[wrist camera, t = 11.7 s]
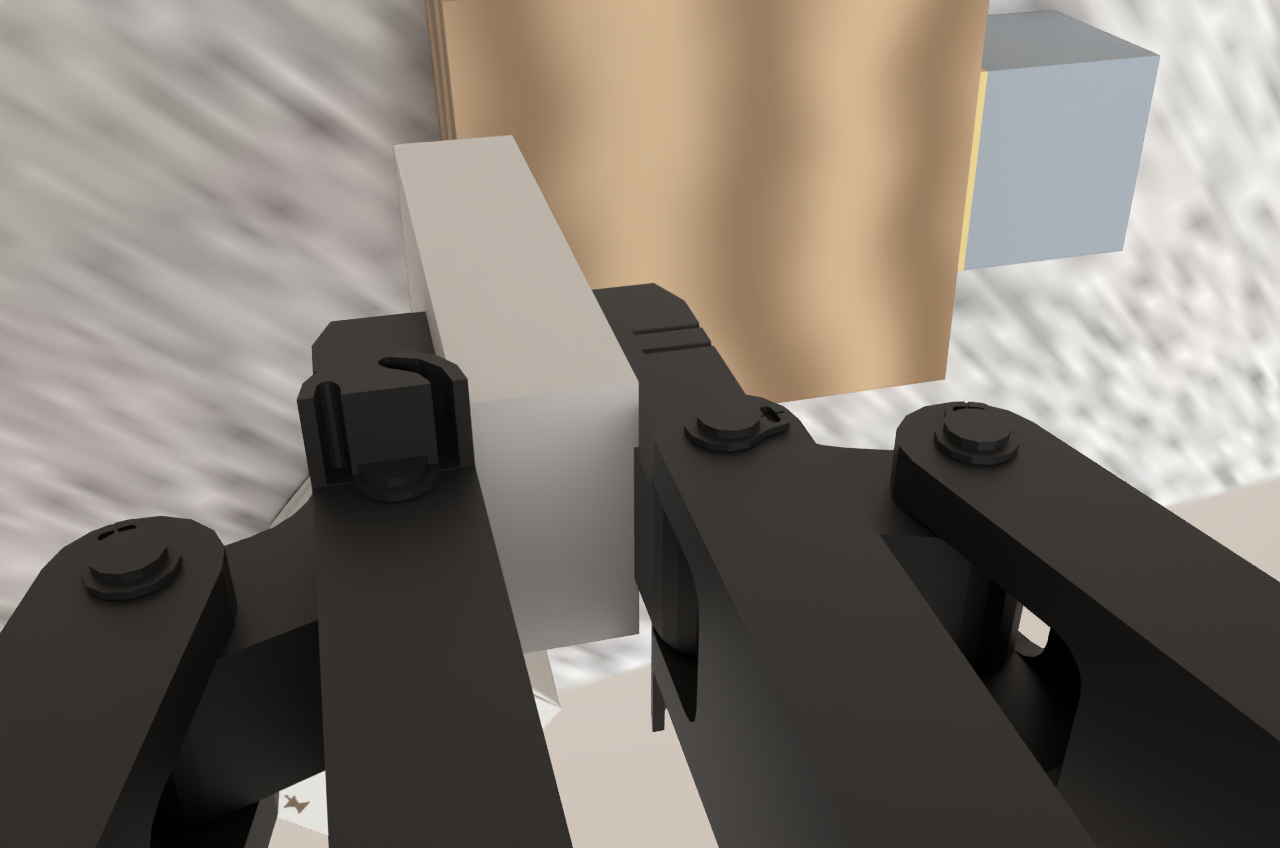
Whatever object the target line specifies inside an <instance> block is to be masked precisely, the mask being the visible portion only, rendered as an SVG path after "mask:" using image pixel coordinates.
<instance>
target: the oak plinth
mask: <svg viewBox="0 0 1280 848" xmlns="http://www.w3.org/2000/svg"><path fill="white" fill-rule="evenodd" d="M425 3H426V11H427V20H428V29H429V37H430V46H431V55H432V63H433V72H434V81H435V89H436V98H437V106H438V115H439V124H440V132H441V141H444V140H457V139H469V138H482V137H494V136H506V135H512V136H513V138H514V139H515V141H516V143H517V145H518V147H519V149H520V151H521V153H522V155H523V157H524V159H525V161H526V163H527V165H528V167H529V169H530V171H531V173H532V175H533V177H534V179H535V181H536V182H537V184H538V186H539V188H540V190H541V192H542V194H543V196H544V198H545V200H546V202H547V204H548V206H549V208H550V210H551V212H552V214H553V216H554V218H555V220H556V222H557V224H558V225H559V227H560V229H561V231H562V233H563V235H564V237H565V239H566V241H567V243H568V245H569V247H570V249H571V251H572V253H573V255H574V257H575V259H576V261H577V263H578V265H579V266H580V268H581V270H582V272H583V274H584V276H585V278H586V280H587V282H588V284H589V286H590V288H591V290H593V289H602V288H611V287H621V286H630V285H639V284H648V283H655V284H657V285H658V286H660V287H662V288H664V289H665V290H667V291H669V292H671V293H672V294H674V295H676V296H678V297H679V298H681V299H683V300H685V302H686V303H687V305H688V306H689V308H690V309H691V311H692V313H693V314H694V316H695V317H696V319H697V320H698V322H699V326H700V328H701V327H702V328H703V329H704V331H705V332H706V334H707V336H708V337H709V339H710V340H711V345H712V346H715V348H716V349H717V351H718V352H719V354H720V355H721V357H722V359H723V360H724V362H725V363H726V365H727V366H728V368H729V369H730V371H731V372H732V374H733V375H734V377H735V378H736V380H737V381H738V383H739V385H740V386H741V388H742V389H743V391H744V392H745V394H746V395H752V396H758V397H762V398H765V399H767V400H770V401H772V402H774V403H781V402H788V401H795V400H802V399H809V398H817V397H824V396H831V395H838V394H845V393H852V392H859V391H866V390H873V389H880V388H887V387H894V386H901V385H908V384H915V383H922V382H929V381H936V380H943V379H945V374H946V365H947V356H948V348H949V339H950V331H951V322H952V314H953V305H954V296H955V288H956V279H957V271H958V262H959V254H960V245H961V236H962V228H963V219H964V211H965V202H966V194H967V185H968V176H969V168H970V159H971V151H972V142H973V134H974V125H975V116H976V108H977V99H978V91H979V82H980V74H981V65H982V56H983V48H984V39H985V31H986V22H987V13H988V5H989V0H425Z"/></svg>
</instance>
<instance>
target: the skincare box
mask: <svg viewBox="0 0 1280 848" xmlns="http://www.w3.org/2000/svg"><path fill="white" fill-rule="evenodd" d="M311 495H312V486H311V480H310V476H309V477H308V479H307V480H306V481H305V482H304V484H303V485H302V486H301V487H300V489H299V490H298V491H297V492H296V493H295V495H294V496H293V497H292V498H291V500H290V501H289V502H288V503H287V505H286V506H285V507H284V509H283V510H282V511H281V512H280V514H279V515H278V516H277V518H276V519H275V520H274V522H273V523H272V524H271V526H270V527H269V529H270V528H273V527H275V526H276V525H278V524H279V523H281V522H283V521H284V520H286V519H287V518H289V517H291V516H292V515H293V514H295V513H296V512H297V511H298V510H299V509H300V508H301V507H302V506H303V505H304V504H305V503H306V502H307V501H308V500H309V498H310V496H311ZM523 655H524V659H525V663H526V666H527V670H528V674H529V678H530V682H531V686H532V690H533V694H534V698H535V702H536V706H537V709H538V713H539V717H540V721H541V725H542V729H544V728H545V727H546V726H547V725H548V723H549V722H550V721H551V720H552V719H553V718H554V717H555V716H556V715H557V714H558V713H559V711H560V710H561V706H560V704H559V701H558V696H557V692H556V688H555V683H554V679H553V675H552V671H551V667H550V663H549V659H548V655H547V651H546V650H541V651H535V652H530V653H524V654H523ZM277 817H279V818H281V819H284V820H287V821H290V822H292V823H295V824H298V825H300V826H303V827H306V828H308V829H311V830H314V831H316V832H319V833H322V834H325V835H327V836H328V820H327V799H326V778H325V771H323V772H321V773H319V774H317V775H315V776H312V777H310V778H308V779H306V780H303V781H301V782H299V783H297V784H295V785H292V786H290V787H288V788H286V789H284V790H281V791H279V806H278V815H277Z"/></svg>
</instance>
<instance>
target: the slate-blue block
mask: <svg viewBox="0 0 1280 848" xmlns="http://www.w3.org/2000/svg"><path fill="white" fill-rule="evenodd" d="M1159 59H1160V55H1158V54H1156V53H1153V52H1151V51H1149V50H1146V49H1144V48H1142V47H1139V46H1137V45H1135V44H1132V43H1130V42H1128V41H1125V40H1123V39H1121V38H1118V37H1116V36H1114V35H1111V34H1109V33H1107V32H1104V31H1102V30H1100V29H1097V28H1095V27H1093V26H1090V25H1088V24H1086V23H1083V22H1081V21H1079V20H1076V19H1074V18H1072V17H1069V16H1067V15H1065V14H1062V13H1060V12H1058V11H1055V10H1047V11H1035V12H1023V13H1011V14H999V15H987V22H986V31H985V39H984V48H983V56H982V65H981V74H980V82H979V91H978V99H977V108H976V116H975V125H974V134H973V142H972V151H971V159H970V168H969V176H968V185H967V194H966V202H965V211H964V219H963V228H962V236H961V245H960V254H959V262H958V271H962V270H970V269H978V268H986V267H994V266H1002V265H1011V264H1019V263H1027V262H1035V261H1043V260H1051V259H1059V258H1067V257H1076V256H1084V255H1092V254H1100V253H1108V252H1116V251H1122V250H1123V245H1124V240H1125V235H1126V230H1127V224H1128V219H1129V214H1130V209H1131V204H1132V199H1133V194H1134V188H1135V183H1136V178H1137V173H1138V168H1139V163H1140V157H1141V152H1142V147H1143V142H1144V137H1145V132H1146V126H1147V121H1148V116H1149V111H1150V106H1151V101H1152V95H1153V90H1154V85H1155V80H1156V75H1157V70H1158V65H1159Z"/></svg>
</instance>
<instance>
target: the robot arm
mask: <svg viewBox="0 0 1280 848" xmlns="http://www.w3.org/2000/svg"><path fill="white" fill-rule="evenodd" d="M393 149H394V158H395V167H396V176H397V185H398V194H399V203H400V212H401V222H402V231H403V240H404V249H405V258H406V267H407V276H408V285H409V294H410V303H411V312H412V313H405V314H396V315H387V316H378V317H368V318H359V319H350V320H341V321H332V322H330V323H329V324H328V326H327V327H326V328H325V330H324V331H323V332H322V334H321V335H320V336H319V337H318V339H317V340H316V341H315V343H314V344H313V345H312V363H313V375H312V376H311V377H310V378H309V379H308V380H306V381H305V382H304V383H303V384H302V387H301V390H300V392H299V395H298V398H297V405H298V410H299V416H300V422H301V428H302V434H303V439H304V445H305V451H306V457H307V463H308V469H309V474H310V480H311V486H312V495H311V496H310V498H309V500H308V501H307V502H306V503H305V504H304V505H303V506H302V507H301V508H300V509H299V510H298V511H297V512H296V513H295V514H293V515H292V516H291V517H289V518H287V519H286V520H284V521H283V522H281V523H279V524H278V525H276V526H275V527H273V528H270V529H268V530H266V531H263V532H261V533H259V534H256V535H254V536H252V537H249V538H246V539H243V540H240V541H238V542H235V543H232V544H229V545H226V546H224V545H223V544H222V542H221V541H220V539H219V538H218V536H217V534H216V533H215V531H214V530H212V529H210V528H208V527H206V526H204V525H202V524H200V523H198V522H196V521H194V520H191V519H183V518H174V517H166V516H157V517H148V518H139V519H130V520H125V521H121V522H117V523H115V524H113V525H111V524H110V525H108V526H105V527H102V528H100V529H97V530H94V531H91V532H90V533H88V534H86V535H84V536H83V537H81V538H79V539H78V540H76V541H74V542H72V543H71V544H69V545H67V546H65V547H64V548H62V549H61V550H60V551H59V552H58V553H57V554H56V555H55V556H54V557H53V558H52V559H51V560H50V562H49V563H48V564H47V565H46V566H45V567H44V568H43V569H42V570H41V571H40V573H39V575H38V576H37V578H36V579H35V581H34V582H33V584H32V585H31V587H30V588H29V590H28V591H27V593H26V594H25V596H24V598H23V599H22V601H21V602H20V604H19V605H18V607H17V608H16V610H15V611H14V613H13V614H12V616H11V617H10V619H9V621H8V622H7V624H6V625H5V627H4V628H3V630H2V631H1V633H0V848H268V845H269V842H270V838H271V835H272V831H273V828H274V825H275V822H276V819H277V815H278V806H279V791H281V790H284V789H286V788H288V787H290V786H292V785H295V784H297V783H299V782H301V781H303V780H306V779H308V778H310V777H312V776H315V775H317V774H319V773H321V772H323V771H325V778H326V799H327V820H328V840H329V848H573V847H572V843H571V839H570V835H569V831H568V827H567V823H566V819H565V815H564V811H563V808H562V803H561V800H560V796H559V792H558V788H557V784H556V780H555V776H554V772H553V769H552V765H551V761H550V756H549V753H548V749H547V745H546V741H545V737H544V733H543V729H542V725H541V721H540V717H539V713H538V709H537V706H536V702H535V698H534V694H533V690H532V686H531V682H530V678H529V674H528V670H527V666H526V663H525V659H524V655H523V654H524V653H530V652H535V651H541V650H547V649H553V648H559V647H565V646H571V645H577V644H582V643H588V642H594V641H600V640H606V639H612V638H618V637H623V636H629V635H635V634H639V591H640V594H641V596H642V599H643V601H644V604H645V606H646V609H647V611H648V614H649V616H650V619H651V621H652V656H651V717H652V729H653V732H656V731H662V730H664V715H665V709H666V708H667V710H668V712H669V715H670V718H671V720H672V723H673V725H674V728H675V731H676V734H677V736H678V739H679V742H680V744H681V747H682V750H683V752H684V755H685V758H686V760H687V763H688V766H689V768H690V771H691V774H692V777H693V779H694V782H695V785H696V787H697V789H698V793H699V795H700V798H701V801H702V803H703V806H704V808H705V811H706V814H707V817H708V819H709V822H710V825H711V827H712V830H713V833H714V835H715V838H716V841H717V844H718V846H719V848H1280V582H1279V581H1277V580H1276V579H1274V578H1273V577H1271V576H1269V575H1268V574H1266V573H1265V572H1263V571H1262V570H1260V569H1259V568H1257V567H1256V566H1254V565H1252V564H1251V563H1249V562H1248V561H1246V560H1245V559H1243V558H1242V557H1240V556H1239V555H1237V554H1236V553H1234V552H1232V551H1231V550H1229V549H1228V548H1226V547H1225V546H1223V545H1222V544H1220V543H1219V542H1217V541H1216V540H1214V539H1212V538H1211V537H1209V536H1208V535H1206V534H1205V533H1203V532H1202V531H1200V530H1199V529H1197V528H1195V527H1194V526H1192V525H1191V524H1189V523H1188V522H1186V521H1185V520H1183V519H1181V518H1180V517H1178V516H1177V515H1175V514H1174V513H1172V512H1171V511H1169V510H1168V509H1166V508H1165V507H1163V506H1162V505H1160V504H1159V503H1157V502H1155V501H1154V500H1152V499H1151V498H1149V497H1148V496H1146V495H1145V494H1143V493H1142V492H1140V491H1138V490H1137V489H1135V488H1134V487H1132V486H1131V485H1129V484H1128V483H1126V482H1125V481H1123V480H1122V479H1120V478H1118V477H1117V476H1115V475H1114V474H1112V473H1111V472H1109V471H1108V470H1106V469H1105V468H1103V467H1101V466H1100V465H1098V464H1097V463H1095V462H1094V461H1092V460H1091V459H1089V458H1088V457H1086V456H1085V455H1083V454H1081V453H1080V452H1078V451H1077V450H1075V449H1074V448H1072V447H1071V446H1069V445H1068V444H1066V443H1065V442H1063V441H1061V440H1060V439H1058V438H1057V437H1055V436H1054V435H1052V434H1051V433H1049V432H1048V431H1046V430H1044V429H1043V428H1041V427H1040V426H1038V425H1037V424H1035V423H1034V422H1032V421H1030V420H1027V419H1025V418H1023V417H1021V416H1019V415H1017V414H1015V413H1013V412H1011V411H1008V410H1004V409H1000V408H996V407H992V406H988V405H986V404H984V403H977V402H968V403H965V402H949V403H943V404H937V405H931V406H925V407H923V408H921V409H919V410H917V411H915V412H913V413H911V414H909V415H907V416H906V417H905V418H904V419H903V421H902V422H901V424H900V425H899V427H898V428H897V431H896V438H895V446H894V450H877V449H858V448H842V447H834V446H825V445H820V444H816V443H815V441H814V440H813V438H812V437H811V436H810V434H809V433H808V431H807V430H806V428H805V427H804V426H803V424H802V423H801V421H800V420H799V419H798V418H797V417H796V416H794V415H793V414H792V413H791V412H790V411H789V410H788V409H787V408H785V407H784V406H781V405H779V404H777V403H774V402H772V401H770V400H767V399H765V398H762V397H758V396H752V395H746V394H745V392H744V391H743V389H742V388H741V386H740V385H739V383H738V381H737V380H736V378H735V377H734V375H733V374H732V372H731V371H730V369H729V368H728V366H727V365H726V363H725V362H724V360H723V359H722V357H721V355H720V354H719V352H718V351H717V349H716V348H715V346H712V345H711V340H710V339H709V337H708V336H707V334H706V332H705V331H704V329H703V328H702V327H701V328H700V326H699V322H698V320H697V319H696V317H695V316H694V314H693V313H692V311H691V309H690V308H689V306H688V305H687V303H686V302H685V300H683V299H681V298H679V297H678V296H676V295H674V294H672V293H671V292H669V291H667V290H665V289H664V288H662V287H660V286H658V285H657V284H655V283H648V284H639V285H630V286H621V287H611V288H602V289H593V290H591V288H590V286H589V284H588V282H587V280H586V278H585V276H584V274H583V272H582V270H581V268H580V266H579V265H578V263H577V261H576V259H575V257H574V255H573V253H572V251H571V249H570V247H569V245H568V243H567V241H566V239H565V237H564V235H563V233H562V231H561V229H560V227H559V225H558V224H557V222H556V220H555V218H554V216H553V214H552V212H551V210H550V208H549V206H548V204H547V202H546V200H545V198H544V196H543V194H542V192H541V190H540V188H539V186H538V184H537V182H536V181H535V179H534V177H533V175H532V173H531V171H530V169H529V167H528V165H527V163H526V161H525V159H524V157H523V155H522V153H521V151H520V149H519V147H518V145H517V143H516V141H515V139H514V138H513V136H512V135H506V136H494V137H482V138H469V139H457V140H444V141H432V142H420V143H407V144H395V145H393ZM1023 606H1025V607H1026V608H1027V609H1028V610H1030V611H1031V612H1032V613H1033V614H1035V615H1036V616H1037V617H1038V618H1039V619H1041V620H1042V621H1043V622H1044V623H1046V624H1047V625H1048V626H1049V627H1050V632H1049V636H1048V641H1047V644H1046V646H1045V648H1041V647H1039V646H1038V645H1036V644H1034V643H1033V642H1031V641H1030V640H1029V639H1027V638H1026V637H1025V636H1024V635H1023V634H1021V633H1020V632H1019V631H1018V628H1019V623H1020V619H1021V614H1022V609H1023Z"/></svg>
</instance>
